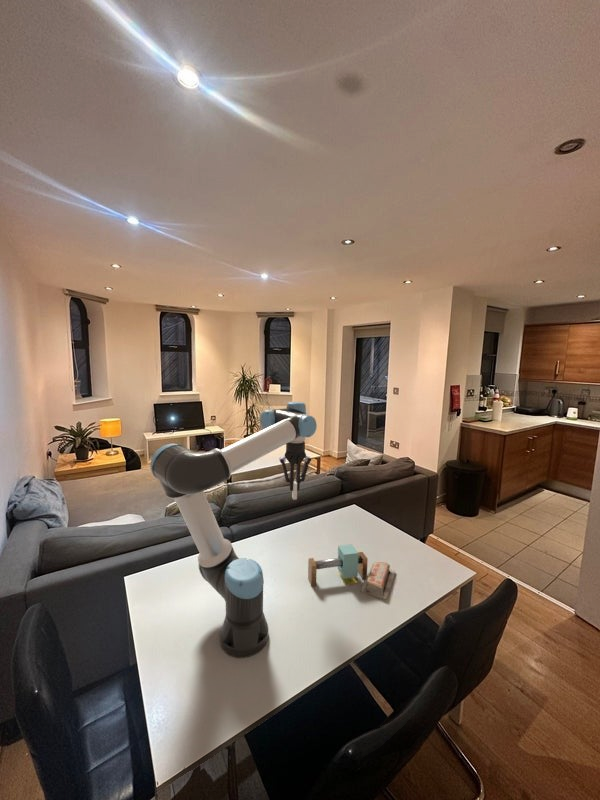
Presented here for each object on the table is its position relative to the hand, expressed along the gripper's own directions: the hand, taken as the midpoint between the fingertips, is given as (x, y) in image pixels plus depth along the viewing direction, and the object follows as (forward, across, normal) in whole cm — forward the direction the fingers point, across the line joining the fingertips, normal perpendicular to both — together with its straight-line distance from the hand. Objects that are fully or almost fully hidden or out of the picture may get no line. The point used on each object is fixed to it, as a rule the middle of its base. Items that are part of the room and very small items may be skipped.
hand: (294, 498), depth 133 cm
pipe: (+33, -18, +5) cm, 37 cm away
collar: (+31, -22, +6) cm, 38 cm away
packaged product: (+33, -33, +11) cm, 48 cm away
